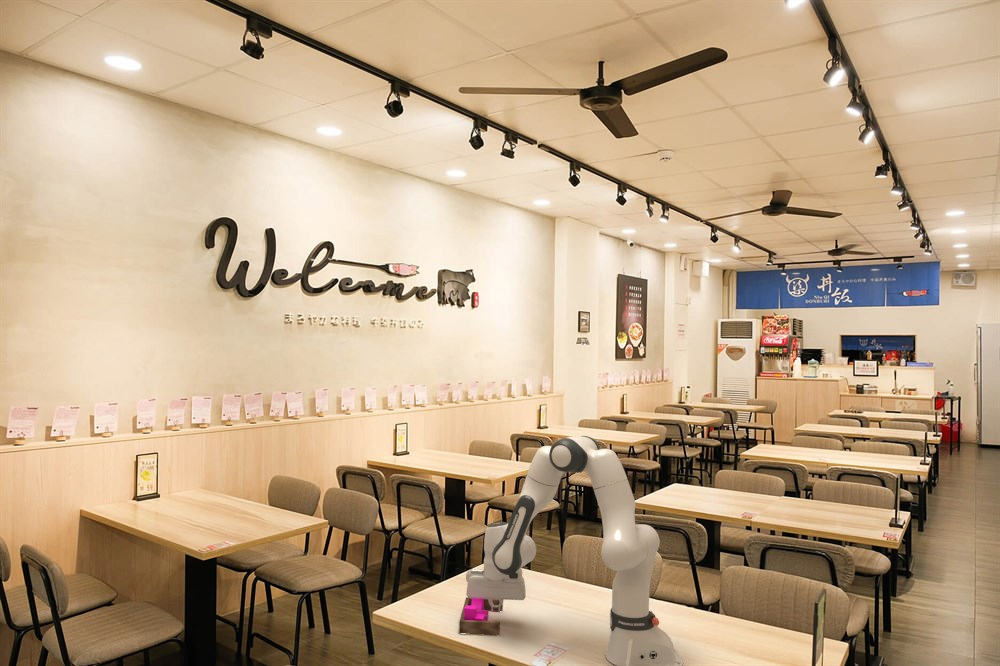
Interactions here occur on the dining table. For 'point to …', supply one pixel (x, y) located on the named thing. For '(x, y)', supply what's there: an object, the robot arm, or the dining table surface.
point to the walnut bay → (480, 626)
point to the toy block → (476, 611)
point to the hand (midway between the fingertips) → (495, 611)
